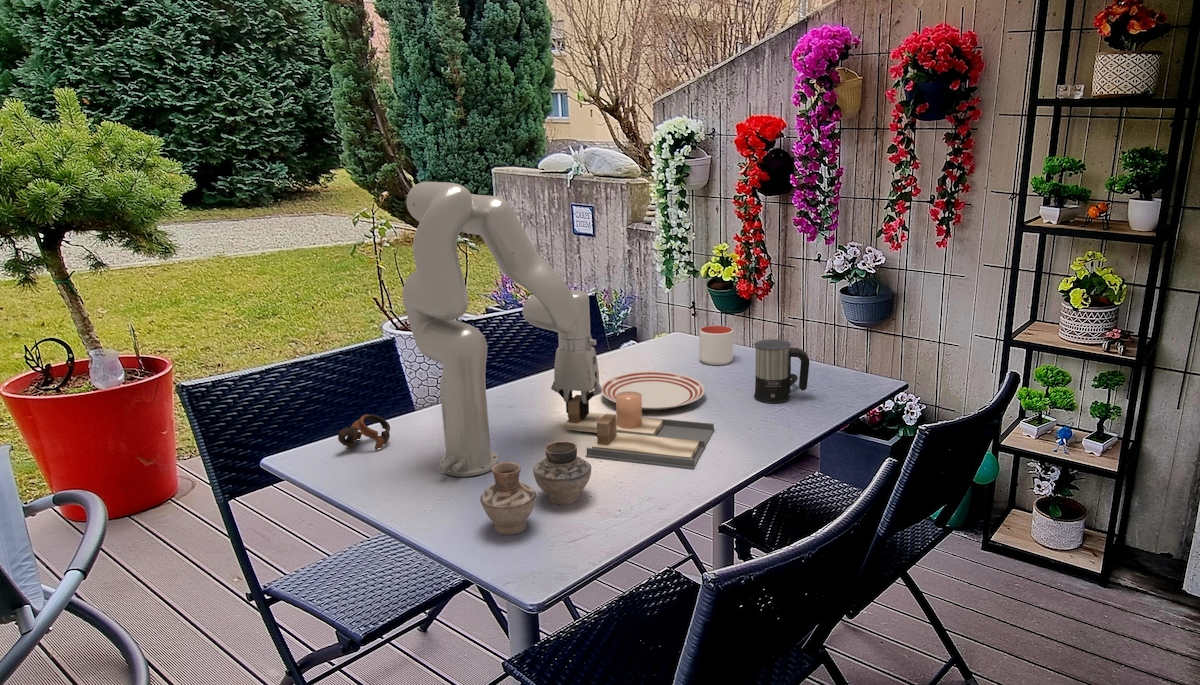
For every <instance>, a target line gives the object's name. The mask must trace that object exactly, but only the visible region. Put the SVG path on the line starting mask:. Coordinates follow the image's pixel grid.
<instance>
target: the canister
mask: <svg viewBox="0 0 1200 685" xmlns="http://www.w3.org/2000/svg"><path fill="white" fill-rule="evenodd" d="M615 406H616V407H615V408H616V409H615V410H616V413H615V414H616V415H617V425H618V426H619V427H621V428H637V427H639V426H641V425H642V417H643V410H642V395H641V394H640V393H638V392H632V391H627V392H621V393H618V394H617V395H616V403H615Z"/></svg>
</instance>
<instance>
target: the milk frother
mask: <svg viewBox="0 0 1200 685" xmlns="http://www.w3.org/2000/svg"><path fill="white" fill-rule="evenodd" d="M791 345H792V343H791V342H790V341H789V340H788V341H787V340H784V339H776V338H773V339H772V338H769V339H761V340H758V341H755V343H753V346H754V347H755V381H754V382H755V384H754V395H753V397H754V399H755V400H756V401H758V402H761V403H766V404H780V403H785V402H787V401H789V400H790V399H791V396H790V393H791V387H792V385H794V384H795V383H796V382H797V381H798V388H799V389H800V390H801V391H805V390H807V387H808V379H809V371H810V358H809V355H808V354H807V351H804V350H803V349H802V348H798V347H791ZM792 358H799V360H800V371H799V377H798V375H797V374H794V373H792V366H791V365H792V360H791V359H792ZM798 379H799V380H798Z"/></svg>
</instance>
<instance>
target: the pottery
mask: <svg viewBox="0 0 1200 685" xmlns="http://www.w3.org/2000/svg"><path fill="white" fill-rule="evenodd" d="M544 451H545V456H546V457H545V458H543V459H541V460H539V461H538V462H537V463H536V464H535V465H534V467H533V468H532V470H533V476H534V480H535V482H536V484H537V486H538V487H539V488H540V489H541V491H542V492H544V493H545V494H546V495H548V499H549V500H550V502H551V503H553V504H556V505H569V503H570V504H572V503H574V502H576V501H577V500H578V498H579V494H580V492H582V491H583V490H584V489H585V487H586V486H587V485H588V483H589V481H590V478H591V474H592V465H591V463H590V462H588V461H587V460H585V459H583V458H582V457H580V456H578V446H577V444H576V443H575V442H572V441H567V440H565V441H563V440H562V441H561V440H560V441H559V440H558V441H553V442H550V443H549V444H547V445H546V446H545V447H544ZM521 467H522V466H521V465H520V464H519V463H517V462H513V461H503V462H498V464H496V465H494V466H493V467H492V470H491V471H492V475H493V477H494V482H495V483H494V484H492V485H491V486H489V487H488V488H486V489H485V490H484V491H483V492H482V493H481V495H480V499H479V500H480V503H481V506H482V509H483V510H484V512H485V514H486V515H487V517H488V518H489V520H490V521H491V522H493V523H494V529H495V532H497V533H498V534H500V535H508V536H510V535H516V533H517V534H520V533H521V531H522V532H523V531H525V530H526V529H527V519H528V518H529V516H530V515H531V513H532V511H533V509H534V506H535V502H536V498H537V493H536V491H535V490H534V488H532V487H531V486H529V485H528V484H525V483H523V482H521V481H520V480H519V479H520V473H521Z"/></svg>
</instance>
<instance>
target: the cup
mask: <svg viewBox="0 0 1200 685" xmlns="http://www.w3.org/2000/svg"><path fill="white" fill-rule="evenodd" d="M698 346H699V352H698V353H699V355H698V356H699V360H700V362H701V363H703V364H706V365H710V366H724V365H727V364H729V363H731V362H732V361H733V360H734V328H731V327H730V326H726V325H725V326H724V325H707V326H703V327H702V326H701V327H700V328H699V345H698Z"/></svg>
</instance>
